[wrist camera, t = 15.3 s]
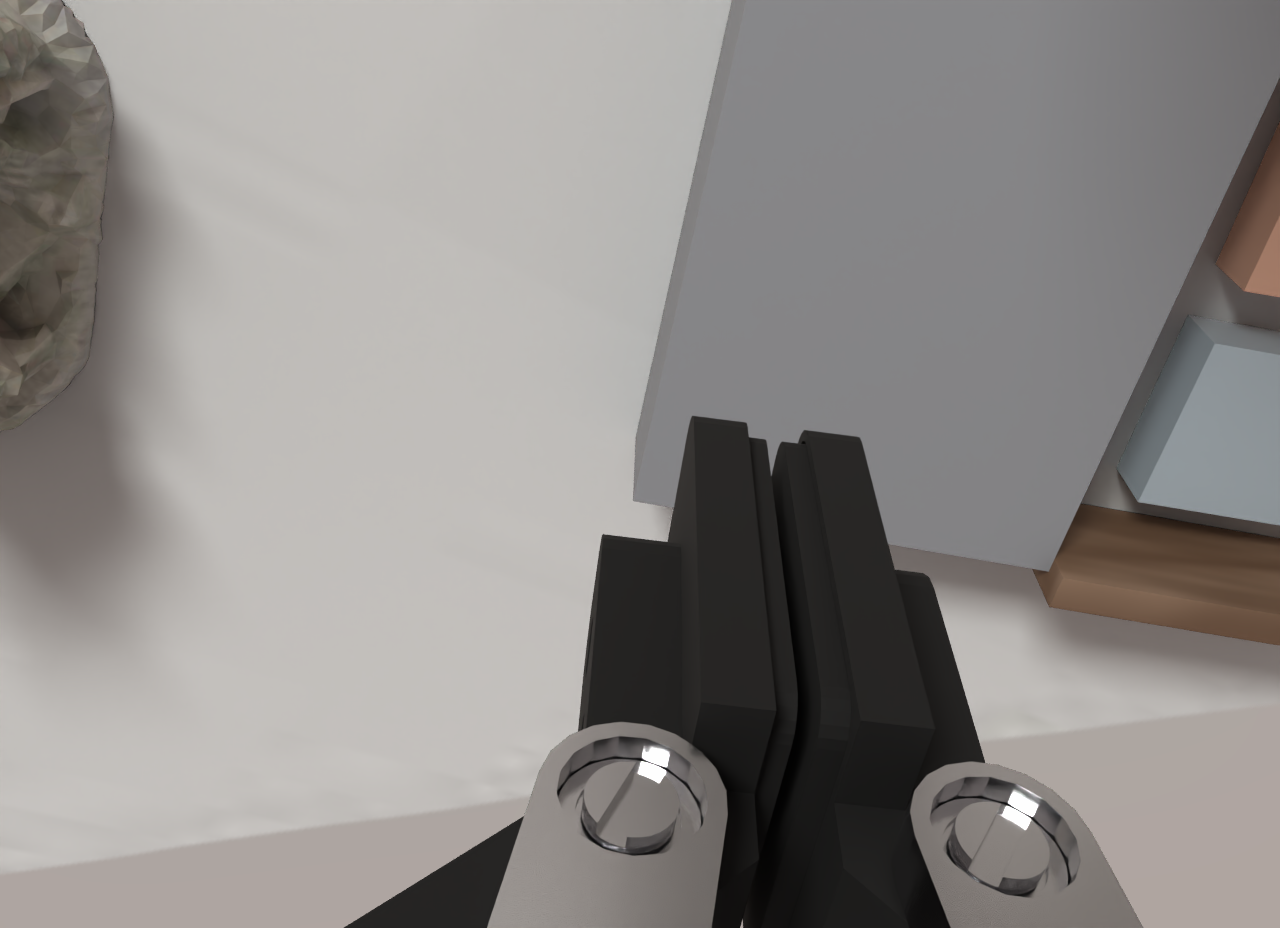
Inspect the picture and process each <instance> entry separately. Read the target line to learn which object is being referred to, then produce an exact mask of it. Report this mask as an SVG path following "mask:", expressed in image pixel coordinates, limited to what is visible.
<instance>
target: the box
mask: <svg viewBox="0 0 1280 928" xmlns="http://www.w3.org/2000/svg"><path fill="white" fill-rule="evenodd" d="M1033 572H1034V574H1035V576H1036V578H1037V581H1038V583H1039V585H1040V587H1041V589H1042V592H1043V594H1044V596H1045V598H1046V601H1047V603H1048V605H1049V607H1053V608H1059V609H1065V610H1071V611H1077V612H1083V613H1089V614H1095V615H1101V616H1107V617H1112V618H1118V619H1124V620H1130V621H1136V622H1142V623H1148V624H1154V625H1160V626H1166V627H1172V628H1178V629H1184V630H1190V631H1196V632H1202V633H1208V634H1214V635H1220V636H1226V637H1232V638H1238V639H1244V640H1250V641H1256V642H1262V643H1268V644H1274V645H1280V539H1279V538H1274V537H1268V536H1262V535H1256V534H1251V533H1245V532H1239V531H1234V530H1228V529H1222V528H1217V527H1211V526H1205V525H1199V524H1194V523H1188V522H1182V521H1177V520H1171V519H1165V518H1160V517H1154V516H1148V515H1143V514H1137V513H1131V512H1125V511H1120V510H1114V509H1108V508H1103V507H1097V506H1091V505H1086V504H1080V506H1079V508H1078V510H1077V512H1076V514H1075V516H1074V518H1073V521H1072V523H1071V525H1070V527H1069V529H1068V531H1067V533H1066V536H1065V538H1064V540H1063V542H1062V544H1061V546H1060V548H1059V551H1058V553H1057V555H1056V557H1055V559H1054V561H1053V563H1052V566H1051V568H1050V570H1049V572H1048V571H1042V570H1036V569H1033Z"/></svg>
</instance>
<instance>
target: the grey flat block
mask: <svg viewBox="0 0 1280 928" xmlns="http://www.w3.org/2000/svg"><path fill="white" fill-rule="evenodd" d="M1279 78H1280V0H732V3H731V7H730V12H729V16H728V21H727V26H726V30H725V35H724V39H723V44H722V48H721V53H720V57H719V62H718V66H717V71H716V76H715V80H714V85H713V89H712V94H711V98H710V103H709V107H708V112H707V116H706V121H705V125H704V130H703V135H702V139H701V144H700V148H699V153H698V157H697V162H696V166H695V171H694V175H693V180H692V185H691V189H690V194H689V198H688V203H687V207H686V212H685V216H684V221H683V225H682V230H681V235H680V239H679V244H678V248H677V253H676V257H675V262H674V266H673V271H672V275H671V280H670V285H669V289H668V294H667V298H666V303H665V307H664V312H663V316H662V321H661V325H660V330H659V335H658V339H657V344H656V348H655V353H654V357H653V362H652V366H651V371H650V375H649V380H648V385H647V389H646V394H645V398H644V403H643V407H642V412H641V416H640V421H639V425H638V430H637V434H636V443H635V467H634V491H633V501H636V502H642V503H648V504H654V505H660V506H665V507H671V508H674V504H675V499H676V493H677V488H678V482H679V477H680V471H681V465H682V460H683V454H684V449H685V443H686V438H687V433H688V428H689V423H690V420H691V417H692V416H699V417H707V418H715V419H723V420H731V421H739V422H745V423H747V426H748V434H749V437H751V438H759V439H765V440H766V442H767V447H768V455H769V463H770V471H771V476H772V471H773V467H774V463H775V458H776V454H777V451H778V448H779V445H780V443H781V442H782V441H783V442H790V443H798V441H799V438H800V436H801V434H802V432H803V431H804V430H809V431H817V432H825V433H833V434H841V435H849V436H857V437H860V439H861V441H862V444H863V448H864V452H865V456H866V460H867V464H868V468H869V472H870V475H871V479H872V483H873V487H874V491H875V495H876V499H877V503H878V507H879V511H880V515H881V519H882V523H883V526H884V530H885V534H886V538H887V542H888V544H889V545H895V546H901V547H907V548H913V549H918V550H924V551H930V552H936V553H942V554H948V555H954V556H960V557H965V558H971V559H977V560H983V561H989V562H995V563H1001V564H1007V565H1012V566H1018V567H1024V568H1030V569H1036V570H1042V571H1048V572H1049V570H1050V568H1051V566H1052V563H1053V561H1054V559H1055V557H1056V555H1057V553H1058V551H1059V548H1060V546H1061V544H1062V542H1063V540H1064V538H1065V536H1066V533H1067V531H1068V529H1069V527H1070V525H1071V523H1072V521H1073V518H1074V516H1075V514H1076V512H1077V510H1078V508H1079V506H1080V504H1081V501H1082V499H1083V497H1084V495H1085V493H1086V491H1087V489H1088V486H1089V484H1090V482H1091V480H1092V478H1093V476H1094V474H1095V471H1096V469H1097V467H1098V465H1099V463H1100V461H1101V459H1102V456H1103V454H1104V452H1105V450H1106V448H1107V446H1108V444H1109V441H1110V439H1111V437H1112V435H1113V433H1114V431H1115V429H1116V427H1117V424H1118V422H1119V420H1120V418H1121V416H1122V414H1123V412H1124V409H1125V407H1126V405H1127V403H1128V401H1129V399H1130V397H1131V394H1132V392H1133V390H1134V388H1135V386H1136V384H1137V382H1138V379H1139V377H1140V375H1141V373H1142V371H1143V369H1144V367H1145V365H1146V362H1147V360H1148V358H1149V356H1150V354H1151V352H1152V350H1153V347H1154V345H1155V343H1156V341H1157V339H1158V337H1159V335H1160V332H1161V330H1162V328H1163V326H1164V324H1165V322H1166V320H1167V317H1168V315H1169V313H1170V311H1171V309H1172V307H1173V305H1174V302H1175V300H1176V298H1177V296H1178V294H1179V292H1180V290H1181V288H1182V285H1183V283H1184V281H1185V279H1186V277H1187V275H1188V273H1189V270H1190V268H1191V266H1192V264H1193V262H1194V260H1195V258H1196V255H1197V253H1198V251H1199V249H1200V247H1201V245H1202V243H1203V240H1204V238H1205V236H1206V234H1207V232H1208V230H1209V228H1210V226H1211V223H1212V221H1213V219H1214V217H1215V215H1216V213H1217V211H1218V208H1219V206H1220V204H1221V202H1222V200H1223V198H1224V196H1225V193H1226V191H1227V189H1228V187H1229V185H1230V183H1231V181H1232V178H1233V176H1234V174H1235V172H1236V170H1237V168H1238V166H1239V163H1240V161H1241V159H1242V157H1243V155H1244V153H1245V151H1246V149H1247V146H1248V144H1249V142H1250V140H1251V138H1252V136H1253V134H1254V131H1255V129H1256V127H1257V125H1258V123H1259V121H1260V119H1261V116H1262V114H1263V112H1264V110H1265V108H1266V106H1267V104H1268V101H1269V99H1270V97H1271V95H1272V93H1273V91H1274V89H1275V87H1276V84H1277V82H1278V80H1279Z"/></svg>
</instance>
